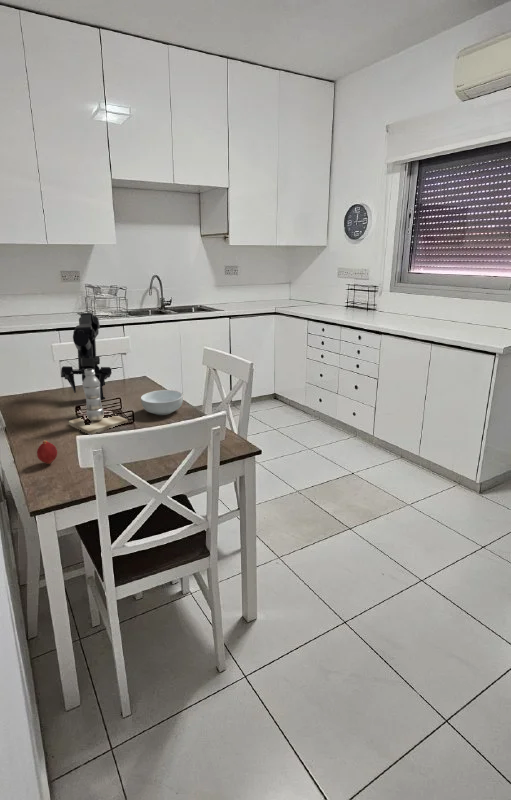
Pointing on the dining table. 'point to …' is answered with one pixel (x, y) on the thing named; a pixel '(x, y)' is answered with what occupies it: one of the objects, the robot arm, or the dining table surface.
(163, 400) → the cereal bowl
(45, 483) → the dining table surface
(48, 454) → the onion
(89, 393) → the plastic bottle
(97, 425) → the birch board
